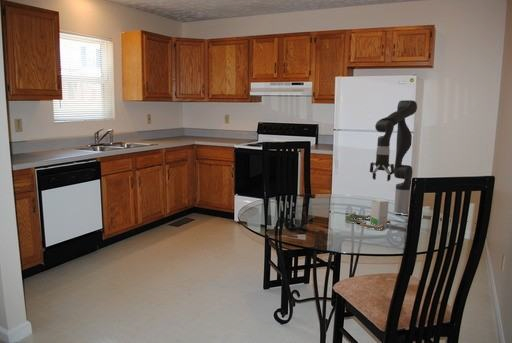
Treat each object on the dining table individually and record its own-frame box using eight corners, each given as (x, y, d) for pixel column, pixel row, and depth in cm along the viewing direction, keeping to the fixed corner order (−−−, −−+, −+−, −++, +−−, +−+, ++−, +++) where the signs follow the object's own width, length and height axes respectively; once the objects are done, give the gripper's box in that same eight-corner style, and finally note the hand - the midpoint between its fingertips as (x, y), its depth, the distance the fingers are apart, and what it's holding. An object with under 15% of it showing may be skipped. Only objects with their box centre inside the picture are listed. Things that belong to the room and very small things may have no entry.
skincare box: (369, 223, 250) (371, 198, 248) (378, 222, 252) (380, 197, 250) (378, 227, 242) (379, 201, 240) (387, 226, 245) (389, 200, 243)
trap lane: (357, 216, 268) (357, 210, 267) (393, 222, 254) (393, 215, 254) (341, 223, 248) (342, 217, 248) (380, 230, 235) (380, 223, 234)
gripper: (396, 154, 247) (394, 180, 249) (373, 152, 255) (372, 178, 257) (392, 154, 241) (391, 182, 243) (369, 153, 249) (367, 179, 251)
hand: (381, 180), depth 250 cm, fingers open, 8 cm apart
